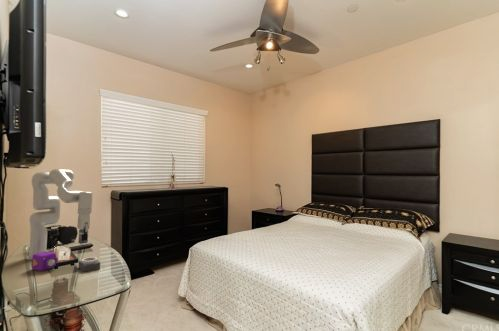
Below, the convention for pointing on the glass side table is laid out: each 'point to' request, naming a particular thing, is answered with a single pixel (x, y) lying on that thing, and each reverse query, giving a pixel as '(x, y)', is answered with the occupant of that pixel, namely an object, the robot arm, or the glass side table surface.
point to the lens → (81, 238)
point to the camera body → (89, 264)
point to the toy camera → (44, 260)
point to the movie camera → (60, 235)
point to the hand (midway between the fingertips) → (83, 239)
